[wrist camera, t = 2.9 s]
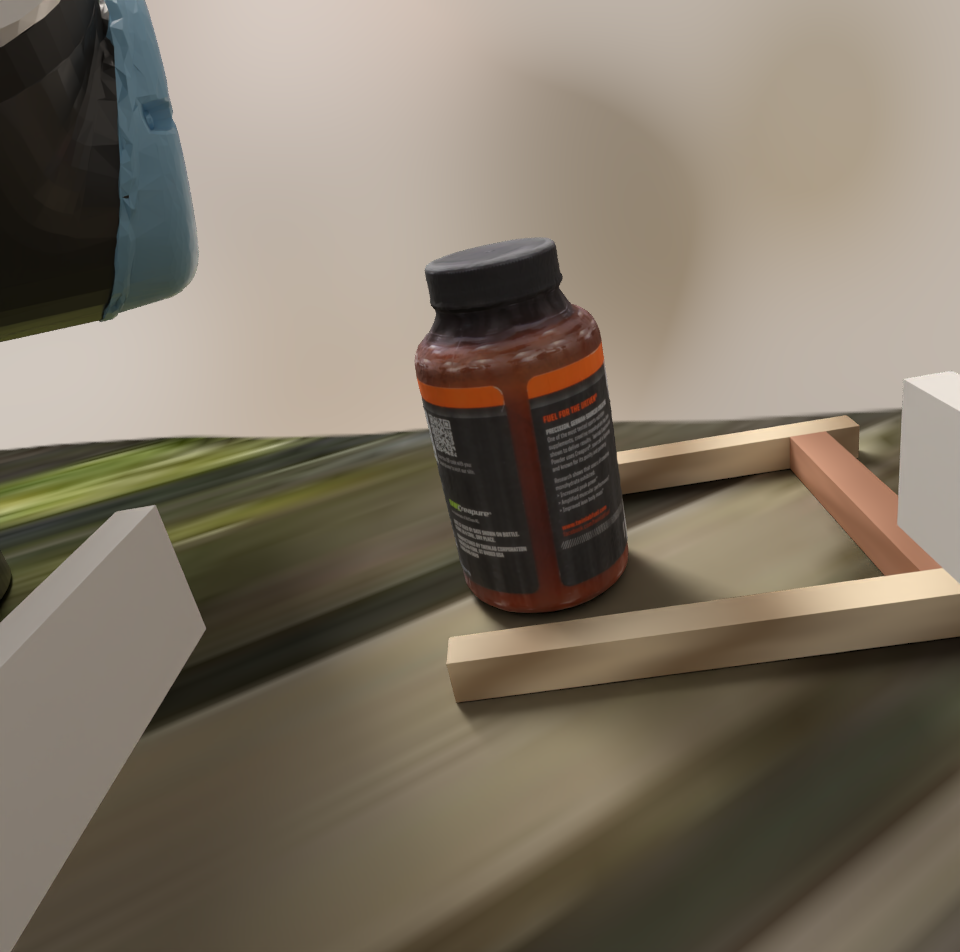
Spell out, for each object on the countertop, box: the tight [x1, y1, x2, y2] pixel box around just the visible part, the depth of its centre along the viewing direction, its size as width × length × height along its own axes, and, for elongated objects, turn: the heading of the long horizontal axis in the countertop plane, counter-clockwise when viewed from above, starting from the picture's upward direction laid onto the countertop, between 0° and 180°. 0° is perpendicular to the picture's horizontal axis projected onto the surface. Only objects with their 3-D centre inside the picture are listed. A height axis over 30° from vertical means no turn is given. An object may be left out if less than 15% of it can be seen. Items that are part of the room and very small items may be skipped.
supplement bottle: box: [415, 238, 628, 613], centre depth 24 cm, size 6×6×11 cm
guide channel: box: [447, 415, 960, 703], centre depth 26 cm, size 16×12×1 cm
